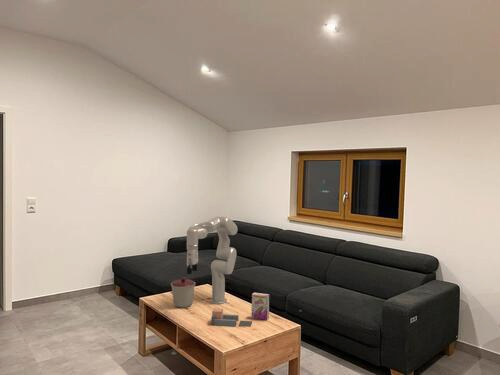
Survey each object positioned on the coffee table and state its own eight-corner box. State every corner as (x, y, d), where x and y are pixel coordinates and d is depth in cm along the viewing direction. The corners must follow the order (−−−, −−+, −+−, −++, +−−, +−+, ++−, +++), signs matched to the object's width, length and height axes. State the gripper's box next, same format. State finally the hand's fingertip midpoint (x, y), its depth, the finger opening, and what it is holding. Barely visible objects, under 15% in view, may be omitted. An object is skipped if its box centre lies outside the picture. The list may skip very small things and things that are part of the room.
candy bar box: (251, 318, 263) (251, 294, 262) (253, 315, 268) (253, 292, 267) (267, 320, 259) (267, 296, 259) (269, 317, 264) (269, 293, 263)
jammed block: (214, 319, 259) (214, 308, 259) (223, 320, 259) (223, 308, 258) (212, 323, 253) (212, 311, 253) (221, 323, 253) (221, 311, 252)
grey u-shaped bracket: (215, 318, 262) (215, 310, 262) (238, 320, 260) (238, 312, 259) (211, 325, 251) (211, 316, 251) (235, 326, 249) (235, 318, 249)
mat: (240, 320, 259) (240, 320, 259) (252, 321, 258) (252, 321, 258) (238, 326, 250) (238, 325, 250) (250, 326, 249) (250, 326, 249)
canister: (199, 306, 286) (199, 278, 285) (177, 311, 275) (177, 282, 274) (188, 299, 300) (188, 272, 300) (166, 304, 290) (166, 276, 289)
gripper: (192, 249, 255) (192, 275, 255) (201, 245, 272) (201, 269, 272) (182, 249, 256) (181, 275, 257) (191, 244, 273) (191, 269, 274)
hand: (192, 272), depth 264 cm, fingers open, 9 cm apart
